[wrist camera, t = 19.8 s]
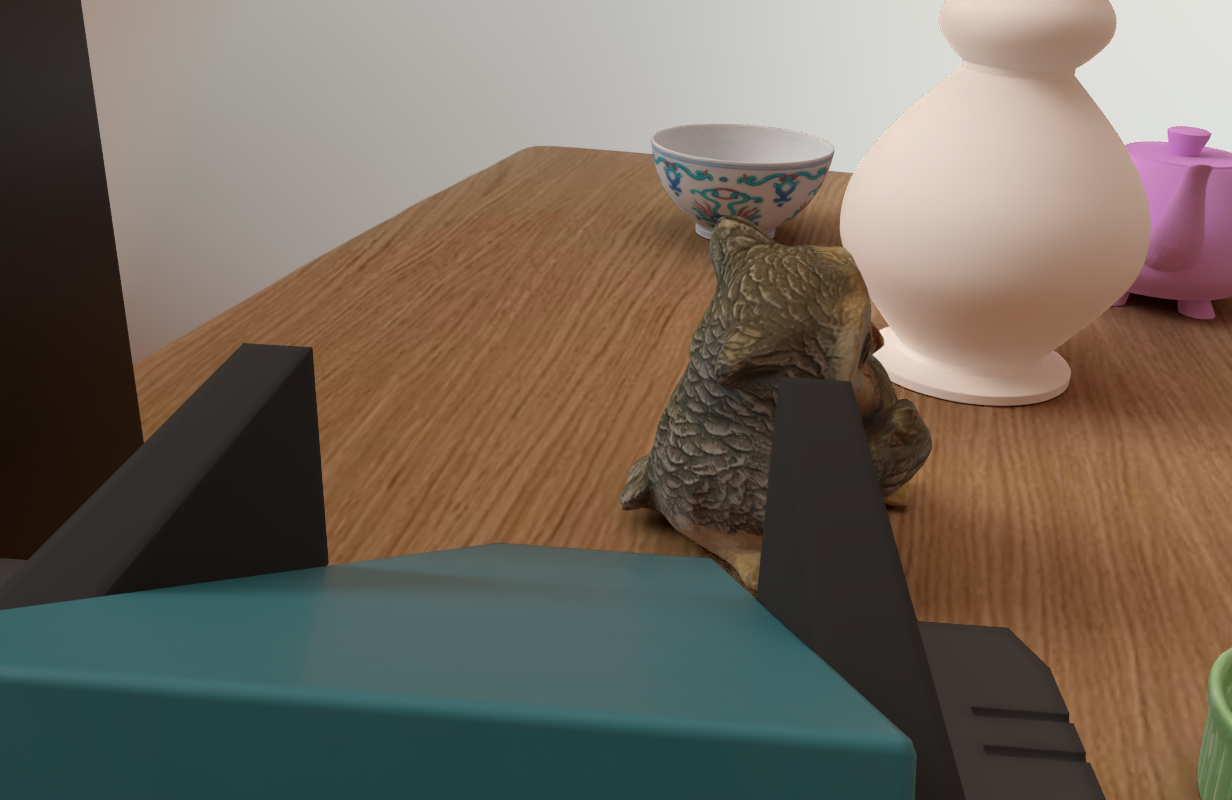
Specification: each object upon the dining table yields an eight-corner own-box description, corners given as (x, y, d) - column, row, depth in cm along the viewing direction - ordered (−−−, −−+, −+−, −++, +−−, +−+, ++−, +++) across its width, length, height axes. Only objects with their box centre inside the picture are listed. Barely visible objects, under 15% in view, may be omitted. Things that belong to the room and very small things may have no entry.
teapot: (1271, 359, 77) (1326, 172, 72) (1046, 325, 82) (1083, 146, 77) (1240, 273, 94) (1282, 117, 89) (1055, 249, 99) (1086, 98, 94)
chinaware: (766, 272, 90) (776, 172, 87) (611, 233, 98) (615, 140, 95) (854, 232, 101) (865, 143, 98) (708, 200, 109) (714, 116, 106)
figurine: (993, 622, 49) (1066, 278, 42) (646, 635, 47) (668, 278, 41) (884, 464, 61) (927, 181, 55) (607, 469, 60) (619, 178, 53)
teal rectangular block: (875, 1850, 4) (-423, 1682, 5) (702, 738, 26) (480, 720, 26) (923, 739, 5) (-275, 643, 5) (713, 558, 27) (495, 542, 27)
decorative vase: (1175, 419, 68) (1296, -39, 58) (886, 432, 65) (959, -51, 55) (1025, 313, 84) (1099, -61, 74) (788, 319, 81) (829, -71, 70)
